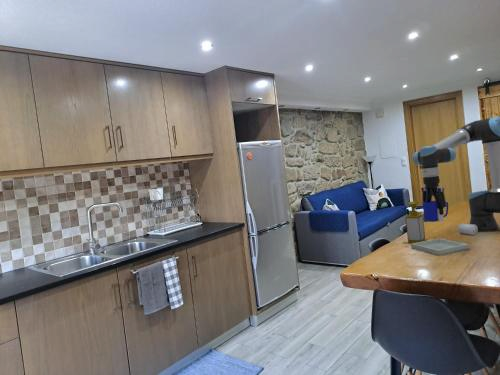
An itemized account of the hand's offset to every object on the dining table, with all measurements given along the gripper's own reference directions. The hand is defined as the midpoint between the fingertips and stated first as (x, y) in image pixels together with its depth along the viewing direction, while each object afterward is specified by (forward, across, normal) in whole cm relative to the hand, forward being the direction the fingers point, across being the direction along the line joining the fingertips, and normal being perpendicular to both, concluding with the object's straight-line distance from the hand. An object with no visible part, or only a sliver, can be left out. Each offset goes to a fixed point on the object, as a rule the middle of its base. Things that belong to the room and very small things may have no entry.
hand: (435, 220), depth 188 cm
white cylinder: (+12, -12, +35) cm, 39 cm away
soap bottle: (+15, -21, +4) cm, 26 cm away
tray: (+15, 0, 0) cm, 15 cm away
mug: (0, +1, 0) cm, 1 cm away
